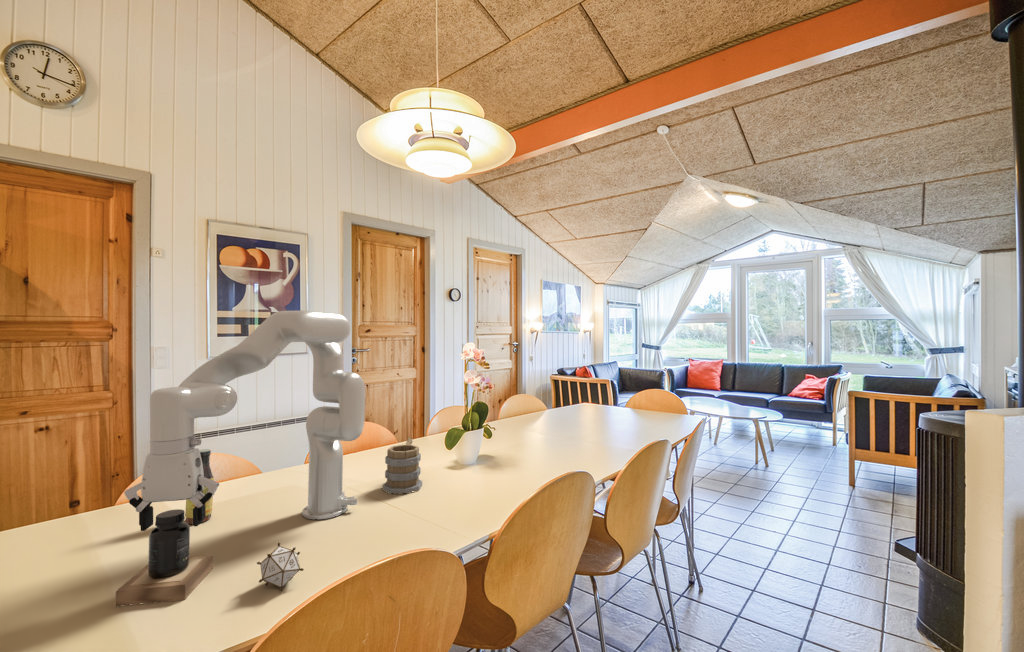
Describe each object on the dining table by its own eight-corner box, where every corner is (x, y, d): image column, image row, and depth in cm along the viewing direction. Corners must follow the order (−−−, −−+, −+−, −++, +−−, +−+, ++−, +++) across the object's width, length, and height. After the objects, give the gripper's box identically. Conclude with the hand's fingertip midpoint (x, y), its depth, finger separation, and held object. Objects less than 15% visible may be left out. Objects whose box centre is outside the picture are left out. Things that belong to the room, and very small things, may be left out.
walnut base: (212, 568, 100) (213, 554, 100) (184, 599, 88) (185, 583, 88) (152, 574, 97) (152, 559, 97) (115, 606, 86) (115, 590, 86)
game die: (274, 600, 94) (271, 551, 100) (312, 584, 95) (308, 536, 100) (248, 600, 87) (246, 548, 92) (290, 583, 87) (286, 532, 93)
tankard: (416, 494, 148) (417, 449, 148) (379, 494, 148) (379, 449, 148) (428, 476, 168) (429, 436, 168) (395, 475, 168) (396, 436, 168)
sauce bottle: (197, 526, 122) (199, 454, 123) (179, 524, 123) (181, 453, 124) (217, 516, 128) (219, 448, 129) (200, 515, 130) (202, 447, 130)
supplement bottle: (185, 559, 98) (187, 504, 98) (191, 570, 93) (193, 513, 93) (146, 570, 93) (147, 513, 93) (150, 583, 88) (151, 523, 88)
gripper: (225, 439, 99) (225, 514, 99) (137, 443, 95) (137, 522, 96) (209, 448, 92) (210, 529, 92) (113, 453, 88) (113, 538, 88)
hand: (173, 525), depth 94 cm, fingers open, 9 cm apart
